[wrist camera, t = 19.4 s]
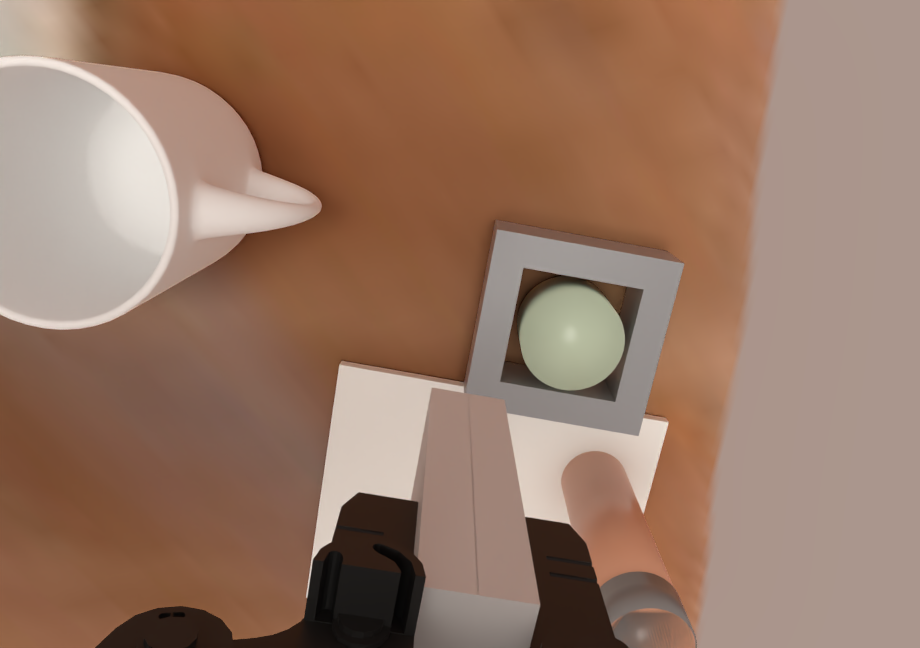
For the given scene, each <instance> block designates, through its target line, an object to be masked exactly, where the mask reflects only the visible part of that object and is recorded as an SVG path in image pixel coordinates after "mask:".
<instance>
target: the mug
mask: <svg viewBox="0 0 920 648" xmlns="http://www.w3.org/2000/svg"><path fill="white" fill-rule="evenodd" d="M321 208H322V204H321V202H320V200H319V199H318V198H317V196H315V195H314V194H313V193H311V192H309V191H308V190H306V189H304V188H302V187H300V186H298V185H296V184H293V183H291V182H289V181H286V180H283V179H281V178H278V177H276V176H273V175H270V174H268V173H265V172H262V166H261V161H260V157H259V153H258V149H257V147H256V144H255V141H254V139H253V137H252V135H251V133H250V131H249V129H248V127H247V126H246V124H245V123H244V121H243V120H242V119H241V117H240V116H239V115H238V113H237V112H236V111H235V110H234V109H233V108H232V107H231V106H230V105H229V104H228V103H227V102H226V101H225V100H223V99H222V98H221V97H220V96H219V95H217V94H216V93H214V92H213V91H211V90H210V89H208V88H207V87H205V86H203V85H201V84H199V83H197V82H195V81H192V80H190V79H187V78H184V77H181V76H177V75H173V74H168V73H164V72H157V71H149V70H142V69H134V68H127V67H119V66H111V65H104V64H96V63H88V62H81V61H73V60H65V59H58V58H50V57H42V56H29V55H18V56H5V57H0V315H2V316H4V317H7V318H9V319H11V320H14V321H17V322H20V323H23V324H26V325H31V326H36V327H41V328H46V329H59V330H67V329H81V328H87V327H92V326H97V325H100V324H103V323H106V322H109V321H111V320H113V319H115V318H118V317H120V316H122V315H124V314H125V313H127V312H129V311H131V310H132V309H134V308H136V307H138V306H139V305H141V304H143V303H145V302H146V301H148V300H150V299H152V298H153V297H155V296H157V295H159V294H160V293H162V292H164V291H166V290H167V289H169V288H171V287H173V286H174V285H176V284H178V283H180V282H181V281H183V280H185V279H186V278H188V277H190V276H192V275H193V274H195V273H197V272H199V271H200V270H202V269H204V268H206V267H207V266H209V265H211V264H213V263H214V262H216V261H217V260H219V259H220V258H222V257H223V256H225V255H226V254H227V253H229V252H230V251H231V250H232V249H233V248H234V247H235V246H236V245H238V244H239V242H240V241H241V240H242V239H243V237H244V236H245V235H246V234H249V233H256V232H262V231H269V230H274V229H279V228H284V227H288V226H292V225H295V224H298V223H301V222H304V221H306V220H309V219H311V218H313V217H314V216H316V215H317V214H318V213H319V212H320V211H321Z"/></svg>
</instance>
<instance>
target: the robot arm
mask: <svg viewBox="0 0 920 648" xmlns="http://www.w3.org/2000/svg"><path fill="white" fill-rule="evenodd" d="M95 648H629V647H628V646H627V645H626V644H625V643H624V642H622V641H620V640H618V639H616V638H615V636H614V632H613V629H612V626H611V623H610V619H609V616H608V613H607V609H606V606H605V603H604V600H603V596H602V593H601V590H600V587H599V584H597V577H596V573H595V570H594V567H592V560H591V557H590V554H589V551H588V547H587V544H586V542H585V541H584V540H583V539H582V538H581V537H580V536H579V535H578V533H577V532H576V531H575V530H574V529H573V528H572V527H571V526H570V525H569V524H567V523H561V522H555V521H549V520H542V519H536V518H530V517H525V514H524V509H523V503H522V497H521V491H520V486H519V480H518V474H517V469H516V463H515V457H514V451H513V446H512V440H511V434H510V428H509V423H508V417H507V411H506V406H505V400H503V399H497V398H491V397H485V396H479V395H473V394H468V393H462V392H456V391H450V390H444V389H438V388H432V389H431V394H430V399H429V405H428V410H427V416H426V421H425V426H424V432H423V437H422V442H421V448H420V453H419V459H418V464H417V469H416V475H415V480H414V485H413V491H412V496H411V500H405V499H398V498H392V497H386V496H380V495H374V494H367V493H361V492H358V493H357V494H356V495H355V496H353V497H352V498H351V499H350V500H348V501H347V502H346V503H345V504H344V505H342V506H341V510H340V514H339V517H338V521H337V524H336V529H335V531H334V535H333V538H332V542H331V543H329V544H327V545H325V546H324V547H322V548H321V549H320V550H319V552H318V553H317V555H316V556H315V557H314V559H313V563H312V570H311V576H310V583H309V590H308V596H307V603H306V610H305V616H304V619H303V620H302V621H301V622H299V623H298V624H296V625H294V626H293V627H291V628H290V629H288V630H285V631H282V632H280V633H277V634H274V635H270V636H264V637H258V638H250V639H239V640H232V632H231V631H230V630H229V628H228V627H227V626H226V625H225V623H224V622H223V621H222V620H221V619H220V618H218V617H216V616H214V615H212V614H210V613H208V612H206V611H204V610H200V609H194V608H189V607H183V606H179V607H165V608H157V609H153V610H150V611H147V612H144V613H141V614H138V615H135V616H134V617H132V618H131V619H129V620H128V621H126V622H124V623H123V624H121V625H120V626H118V627H117V628H116V629H115V630H114V631H113V632H111V633H110V634H109V635H108V636H107V637H106V638H105V639H104V640H103V641H102V642H101V643H100V644H99V645H97V646H96V647H95Z"/></svg>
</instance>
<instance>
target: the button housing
mask: <svg viewBox="0 0 920 648" xmlns="http://www.w3.org/2000/svg"><path fill="white" fill-rule="evenodd" d="M683 267H684V263H683V262H682V261H680V260H679V259H677V258H676V257H675V256H673V255H672V254H670V253H669V252H668V251H665V250H659V249H654V248H648V247H643V246H637V245H632V244H626V243H621V242H615V241H610V240H604V239H599V238H593V237H588V236H582V235H577V234H572V233H566V232H561V231H555V230H550V229H544V228H539V227H533V226H528V225H522V224H517V223H511V222H506V221H500V220H495V224H494V229H493V235H492V240H491V245H490V250H489V255H488V261H487V266H486V271H485V276H484V281H483V287H482V292H481V297H480V302H479V307H478V312H477V318H476V323H475V328H474V333H473V338H472V344H471V349H470V354H469V359H468V364H467V370H466V375H465V380H464V393H468V394H473V395H479V396H485V397H491V398H497V399H503V400H505V406H506V411H507V413H509V414H515V415H521V416H526V417H532V418H538V419H544V420H549V421H555V422H561V423H566V424H572V425H578V426H584V427H589V428H595V429H601V430H606V431H612V432H618V433H624V434H629V435H635V436H639V432H640V429H641V425H642V421H643V417H644V414H645V410H646V406H647V402H648V399H649V395H650V391H651V387H652V384H653V380H654V376H655V372H656V368H657V365H658V361H659V357H660V353H661V350H662V346H663V342H664V338H665V335H666V331H667V327H668V323H669V320H670V316H671V312H672V308H673V304H674V301H675V297H676V293H677V289H678V286H679V282H680V278H681V274H682V271H683ZM523 268H527V269H533V270H538V271H544V272H549V273H555V274H560V275H566V276H572V277H577V278H583V279H588V280H594V281H599V282H605V283H610V284H616V285H621V286H627V288H626V292H625V296H624V300H623V304H622V308H621V312H620V316H619V317H620V319H621V322H622V324H623V328H624V333H625V345H624V351H623V354H622V357H621V359H620V361H619V363H618V365H617V366H616V368H615V369H614V370H613V371H612V373H611V374H610V375H609V376H608V377H606V378H605V379H604V380H602V381H601V382H599V383H598V384H596V385H594V386H591V387H589V388H585V389H581V390H561V389H557V388H554V387H551V386H549V385H547V384H545V383H543V382H542V381H540V380H539V379H538V378H536V377H535V376H534V375H533V374H532V372H531V371H530V370H529V368H528V367H527V365H522V364H516V363H511V362H505V361H504V360H505V355H506V350H507V345H508V341H509V336H510V331H511V326H512V321H513V316H514V312H515V307H516V302H517V297H518V292H519V287H520V282H521V278H522V273H523Z"/></svg>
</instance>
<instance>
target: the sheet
mask: <svg viewBox="0 0 920 648" xmlns="http://www.w3.org/2000/svg"><path fill="white" fill-rule="evenodd" d="M432 388H438V389H444V390H450V391H456V392H462V393H464V382H460V381H454V380H449V379H443V378H437V377H432V376H426V375H420V374H414V373H409V372H403V371H397V370H392V369H386V368H380V367H375V366H369V365H363V364H358V363H352V362H346V361H341V363H340V364H339V371H338V378H337V385H336V392H335V399H334V406H333V413H332V420H331V427H330V434H329V441H328V448H327V454H326V461H325V468H324V475H323V482H322V489H321V496H320V503H319V510H318V517H317V524H316V531H315V538H314V545H313V552H312V559H311V566H310V573H309V580H308V587H307V594H306V597H307V596H308V590H309V583H310V576H311V570H312V563H313V559H314V557H315V556H316V555H317V553H318V552H319V550H320V549H321V548H322V547H324V546H325V545H327V544H329V543H331V542H332V538H333V535H334V531H335V529H336V524H337V521H338V517H339V514H340V510H341V506H342V505H344V504H345V503H346V502H347V501H348V500H350V499H351V498H352V497H353V496H355V495H356V494H357V493H358V492H361V493H367V494H374V495H380V496H386V497H392V498H398V499H405V500H411V496H412V491H413V485H414V480H415V475H416V469H417V464H418V459H419V453H420V448H421V442H422V437H423V432H424V426H425V421H426V416H427V410H428V405H429V399H430V394H431V389H432ZM507 417H508V423H509V428H510V434H511V440H512V446H513V451H514V457H515V463H516V469H517V474H518V480H519V486H520V491H521V497H522V503H523V509H524V514H525V517H530V518H536V519H542V520H549V521H555V522H561V523H567V524H569V525H570V520H569V516H568V512H567V507H566V503H565V498H564V494H563V490H562V485H561V478H562V474H563V471H564V469H565V467H566V466H567V464H568V463H569V462H570V461H571V460H572V459H573V458H575V457H576V456H578V455H580V454H582V453H585V452H590V451H600V452H605V453H608V454H610V455H612V456H614V457H615V458H616V459H618V460H619V462H620V463H621V464H622V465H623V467H624V469H625V472H626V474H627V477H628V479H629V481H630V484H631V486H632V489H633V491H634V493H635V496H636V498H637V501H638V503H639V505H640V508H641V510H642V513H643V514H644V510H645V507H646V503H647V499H648V496H649V492H650V489H651V485H652V481H653V478H654V474H655V470H656V467H657V463H658V460H659V456H660V452H661V449H662V445H663V441H664V438H665V434H666V431H667V427H668V423H669V422H668V421H667V419H666V418H665V417H659V416H653V415H648V414H644V417H643V421H642V425H641V429H640V432H639V436H635V435H629V434H624V433H618V432H612V431H606V430H601V429H595V428H589V427H584V426H578V425H572V424H566V423H561V422H555V421H549V420H544V419H538V418H532V417H526V416H521V415H515V414H509V413H507ZM570 526H571V525H570Z"/></svg>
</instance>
